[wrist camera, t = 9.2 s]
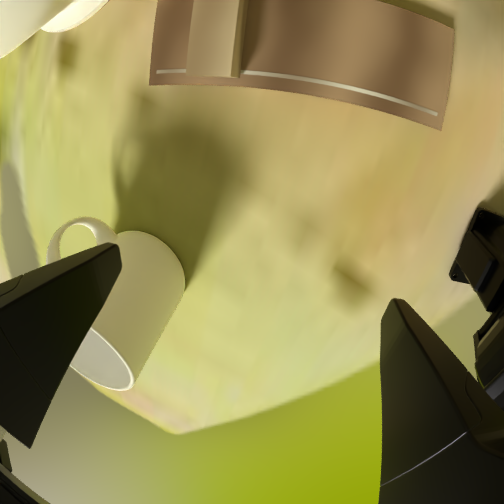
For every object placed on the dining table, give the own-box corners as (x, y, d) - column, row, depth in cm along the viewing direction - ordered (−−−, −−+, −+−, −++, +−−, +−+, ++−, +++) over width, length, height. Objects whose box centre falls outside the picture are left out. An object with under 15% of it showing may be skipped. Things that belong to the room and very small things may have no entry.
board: (441, 33, 11) (454, 29, 9) (429, 126, 15) (441, 131, 13) (173, -4, 13) (159, -11, 11) (163, 84, 17) (148, 85, 15)
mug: (138, 176, 21) (40, 244, 12) (204, 296, 26) (157, 394, 17) (78, 212, 24) (-1, 274, 15) (139, 309, 29) (88, 386, 20)
